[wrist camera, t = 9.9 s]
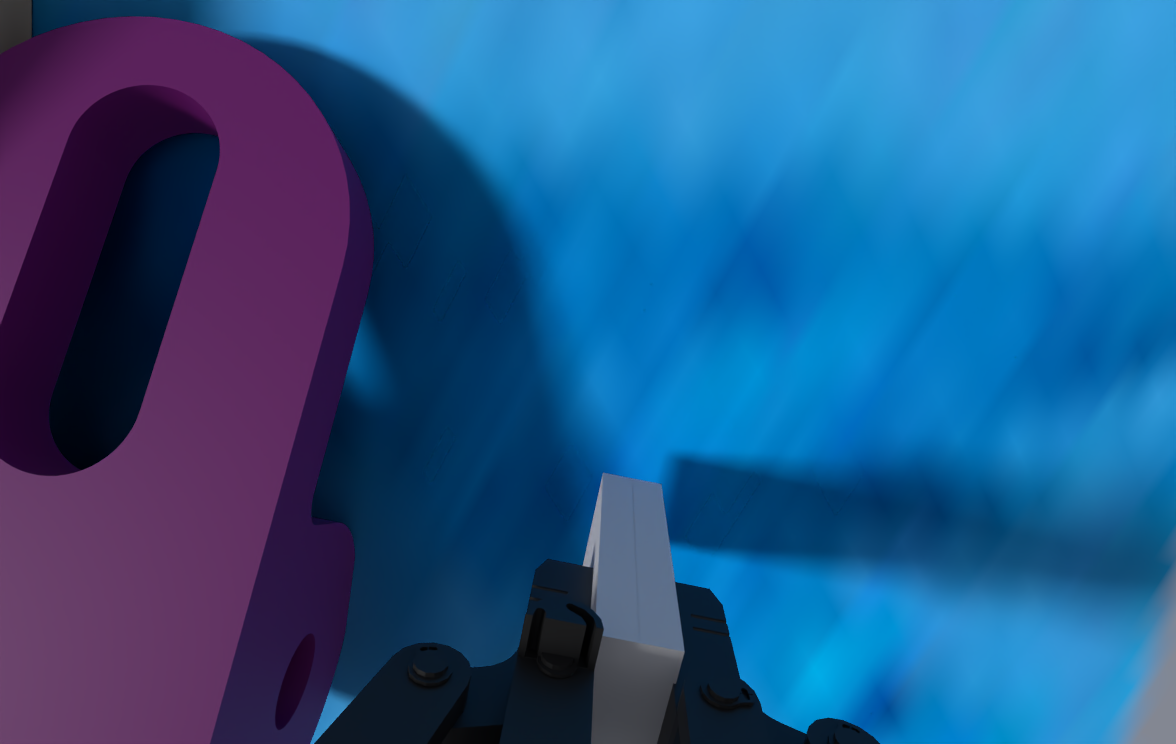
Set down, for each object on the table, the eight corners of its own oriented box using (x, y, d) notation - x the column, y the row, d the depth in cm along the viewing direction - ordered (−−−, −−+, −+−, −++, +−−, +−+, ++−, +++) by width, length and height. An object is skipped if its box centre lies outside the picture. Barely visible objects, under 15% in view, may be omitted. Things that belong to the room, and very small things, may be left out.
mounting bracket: (175, 156, 24) (-14, 721, 21) (-24, -25, 16) (-391, 870, 12) (452, 216, 24) (306, 786, 21) (400, 68, 16) (144, 978, 13)
